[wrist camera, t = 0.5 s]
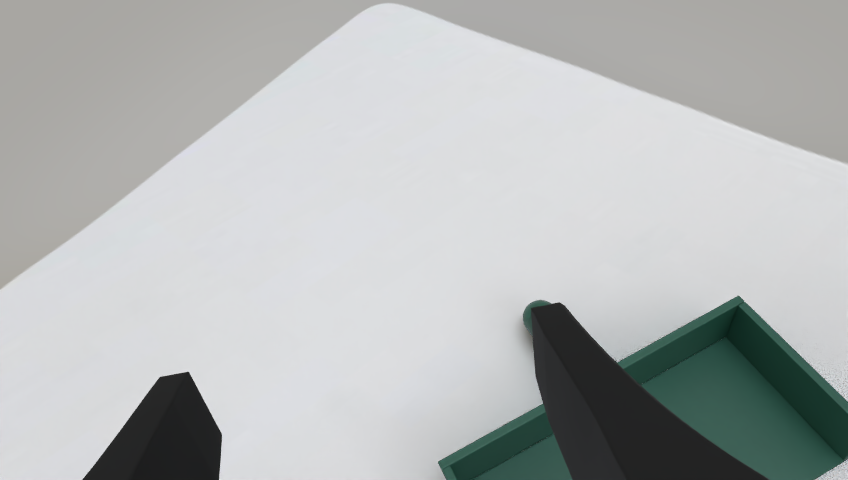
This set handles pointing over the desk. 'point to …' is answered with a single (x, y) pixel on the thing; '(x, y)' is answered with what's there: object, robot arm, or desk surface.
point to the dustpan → (699, 404)
